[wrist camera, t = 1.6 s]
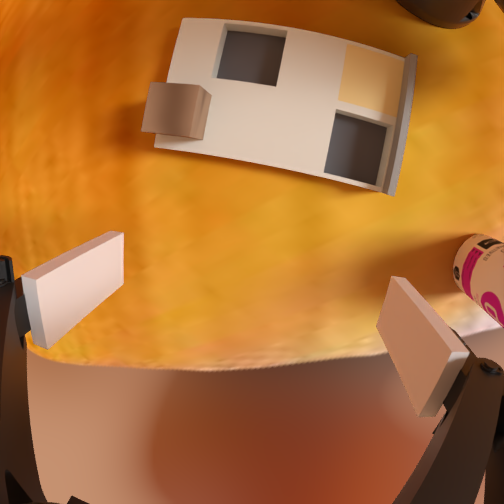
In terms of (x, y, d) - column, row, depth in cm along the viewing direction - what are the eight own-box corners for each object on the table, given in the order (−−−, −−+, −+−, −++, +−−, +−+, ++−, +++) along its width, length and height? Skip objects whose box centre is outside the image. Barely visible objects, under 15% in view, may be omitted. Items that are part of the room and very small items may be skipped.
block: (160, 134, 32) (140, 131, 27) (168, 91, 31) (150, 81, 26) (203, 139, 32) (189, 136, 27) (211, 95, 30) (199, 85, 26)
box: (162, 147, 35) (146, 146, 31) (188, 25, 30) (177, 11, 26) (381, 192, 34) (394, 196, 30) (403, 65, 29) (417, 55, 25)
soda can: (463, 301, 36) (520, 359, 22) (441, 257, 35) (506, 307, 21) (501, 266, 34) (566, 309, 20) (483, 220, 33) (556, 252, 19)
